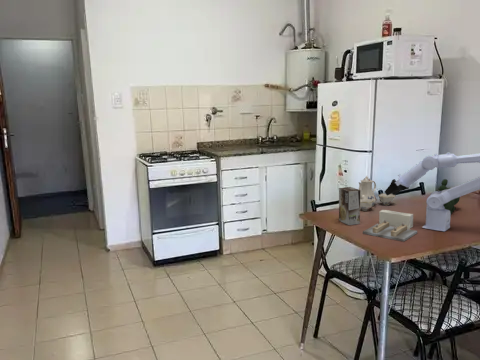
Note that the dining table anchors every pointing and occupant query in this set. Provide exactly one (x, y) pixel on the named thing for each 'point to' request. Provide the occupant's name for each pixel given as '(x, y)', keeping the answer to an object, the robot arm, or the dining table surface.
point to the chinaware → (371, 195)
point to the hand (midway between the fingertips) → (389, 193)
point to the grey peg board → (390, 231)
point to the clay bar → (396, 218)
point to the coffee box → (349, 205)
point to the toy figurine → (451, 203)
